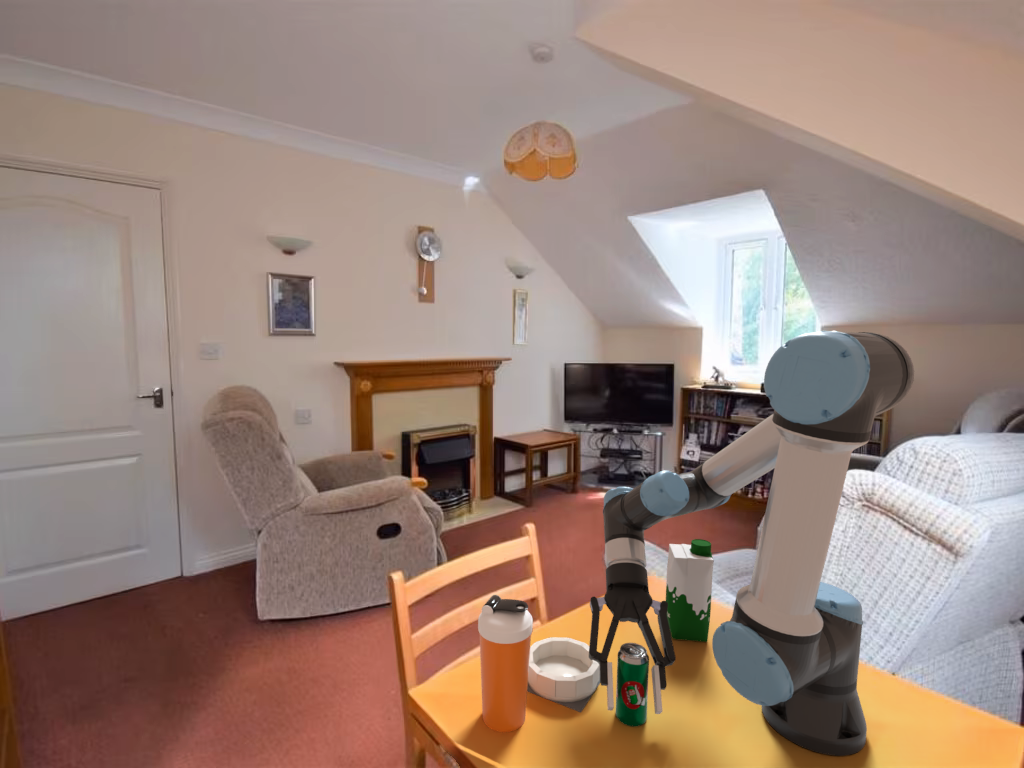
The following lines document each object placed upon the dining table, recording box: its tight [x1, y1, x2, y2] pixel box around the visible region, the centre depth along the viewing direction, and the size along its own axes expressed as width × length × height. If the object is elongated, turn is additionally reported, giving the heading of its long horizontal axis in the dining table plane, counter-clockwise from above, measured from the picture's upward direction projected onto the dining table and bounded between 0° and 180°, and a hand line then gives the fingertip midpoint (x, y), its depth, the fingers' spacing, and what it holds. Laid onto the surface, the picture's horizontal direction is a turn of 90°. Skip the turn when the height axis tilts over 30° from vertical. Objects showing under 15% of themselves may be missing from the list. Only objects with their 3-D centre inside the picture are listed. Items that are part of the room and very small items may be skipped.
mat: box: [527, 678, 601, 713], centre depth 99 cm, size 13×13×1 cm
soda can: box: [615, 642, 650, 727], centre depth 89 cm, size 5×5×12 cm
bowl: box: [528, 636, 600, 702], centre depth 99 cm, size 13×13×4 cm
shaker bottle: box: [477, 594, 534, 733], centre depth 88 cm, size 9×9×20 cm
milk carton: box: [665, 538, 715, 643], centre depth 115 cm, size 9×9×20 cm
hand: (634, 710), depth 86 cm, fingers open, 7 cm apart
